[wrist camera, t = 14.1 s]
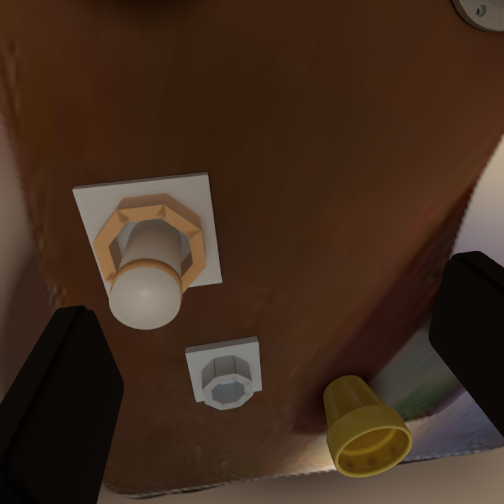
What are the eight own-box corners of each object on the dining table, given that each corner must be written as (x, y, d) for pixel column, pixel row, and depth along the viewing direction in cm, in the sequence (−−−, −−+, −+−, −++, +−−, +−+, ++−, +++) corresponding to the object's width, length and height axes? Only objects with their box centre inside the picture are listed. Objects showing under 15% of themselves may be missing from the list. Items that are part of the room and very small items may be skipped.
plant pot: (333, 358, 47) (365, 421, 39) (389, 372, 50) (429, 433, 42) (298, 406, 51) (319, 474, 42) (352, 417, 54) (382, 481, 46)
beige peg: (177, 212, 32) (175, 267, 24) (187, 260, 35) (187, 324, 26) (121, 220, 32) (97, 279, 23) (134, 267, 34) (118, 336, 26)
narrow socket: (256, 336, 43) (262, 359, 39) (260, 384, 47) (266, 409, 44) (185, 347, 42) (185, 373, 38) (196, 395, 46) (196, 422, 43)
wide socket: (207, 171, 32) (209, 184, 28) (221, 277, 38) (224, 298, 34) (75, 186, 31) (61, 201, 27) (111, 293, 36) (102, 316, 33)
